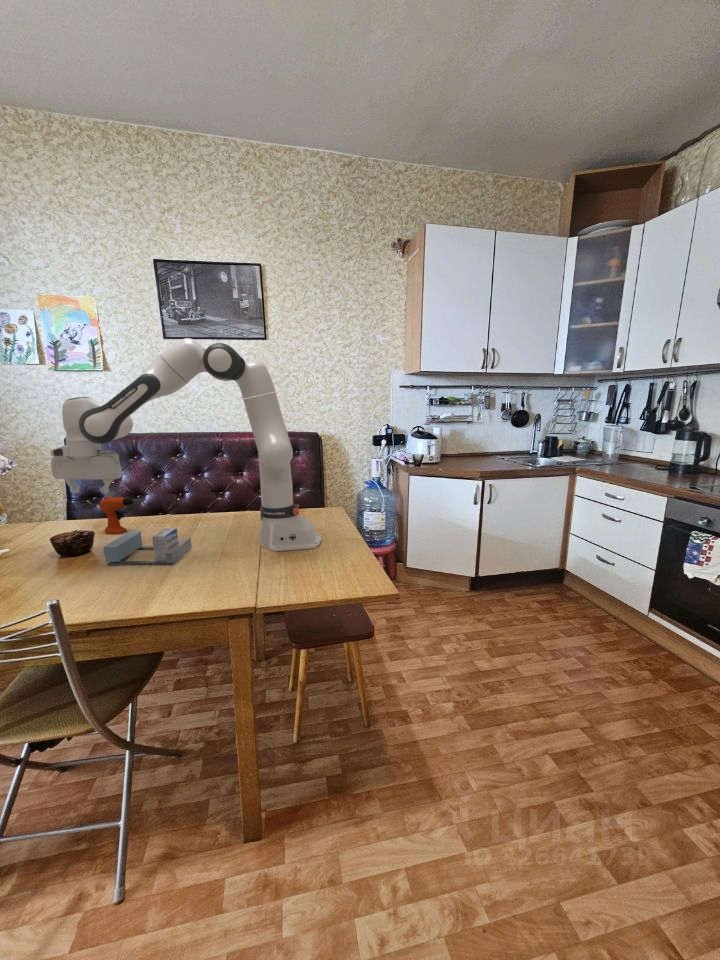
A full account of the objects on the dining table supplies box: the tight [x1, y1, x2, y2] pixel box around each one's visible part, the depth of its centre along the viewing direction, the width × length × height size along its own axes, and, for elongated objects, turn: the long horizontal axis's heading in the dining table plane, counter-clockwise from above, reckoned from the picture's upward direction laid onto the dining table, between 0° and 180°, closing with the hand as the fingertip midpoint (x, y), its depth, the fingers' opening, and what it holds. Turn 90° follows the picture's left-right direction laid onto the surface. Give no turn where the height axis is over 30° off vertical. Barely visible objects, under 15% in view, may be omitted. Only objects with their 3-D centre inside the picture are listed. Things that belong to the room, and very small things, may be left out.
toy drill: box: [98, 496, 146, 535], centre depth 151 cm, size 5×19×15 cm, turn 87°
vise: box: [106, 537, 192, 566], centre depth 128 cm, size 20×14×4 cm
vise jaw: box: [103, 531, 143, 563], centre depth 128 cm, size 4×14×5 cm, turn 0°
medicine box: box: [151, 527, 180, 561], centre depth 128 cm, size 8×4×9 cm, turn 179°
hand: (90, 492), depth 124 cm, fingers open, 8 cm apart
